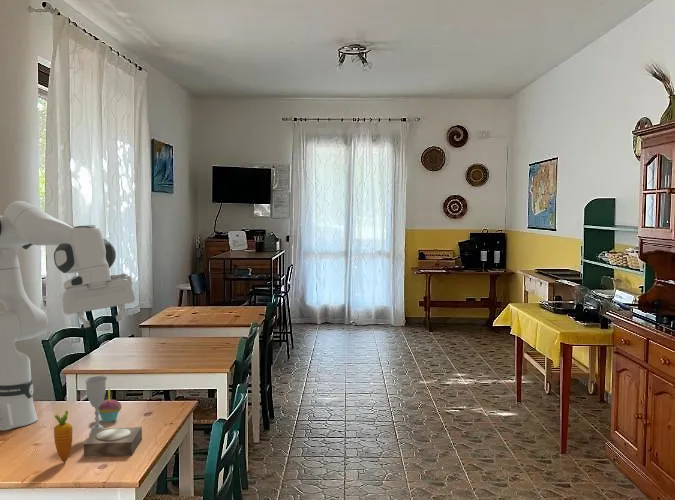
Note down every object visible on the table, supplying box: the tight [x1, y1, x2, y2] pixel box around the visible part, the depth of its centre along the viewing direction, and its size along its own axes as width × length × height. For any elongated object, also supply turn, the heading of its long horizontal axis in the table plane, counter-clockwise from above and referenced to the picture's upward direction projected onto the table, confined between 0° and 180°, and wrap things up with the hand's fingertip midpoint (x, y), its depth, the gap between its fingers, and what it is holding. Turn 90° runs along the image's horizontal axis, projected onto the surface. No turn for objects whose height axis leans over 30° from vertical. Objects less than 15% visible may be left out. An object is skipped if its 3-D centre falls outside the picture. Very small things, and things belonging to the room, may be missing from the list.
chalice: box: [84, 375, 108, 436], centre depth 227 cm, size 7×7×18 cm
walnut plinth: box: [83, 426, 143, 458], centre depth 213 cm, size 14×14×4 cm
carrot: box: [53, 410, 73, 463], centre depth 201 cm, size 5×5×15 cm
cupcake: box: [98, 387, 122, 423], centre depth 241 cm, size 9×8×12 cm
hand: (103, 324), depth 204 cm, fingers open, 8 cm apart
